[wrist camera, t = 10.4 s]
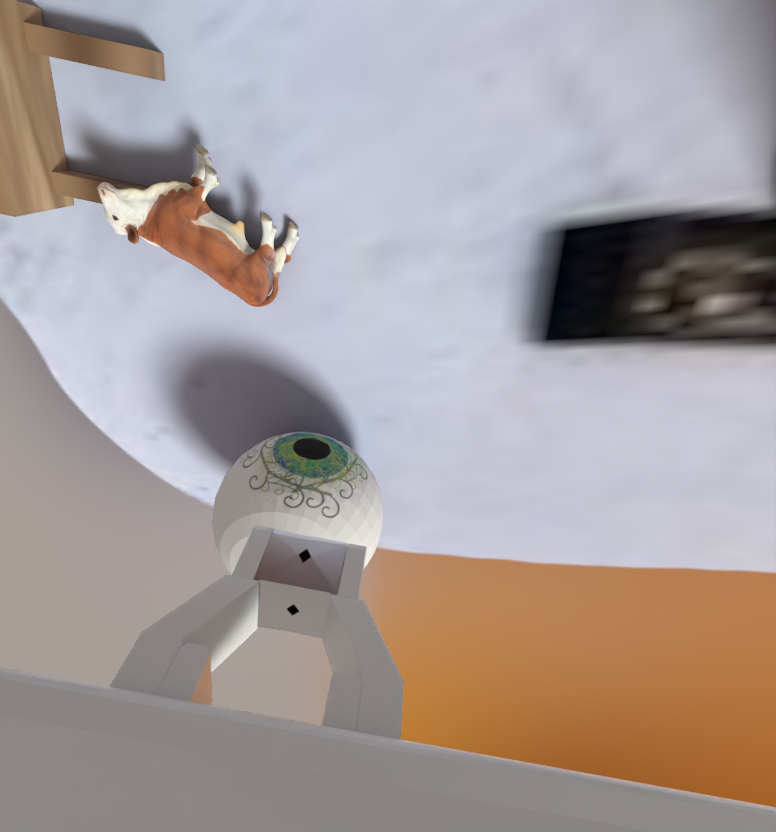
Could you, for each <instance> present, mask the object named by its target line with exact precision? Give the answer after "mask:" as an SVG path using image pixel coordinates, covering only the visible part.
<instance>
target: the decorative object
mask: <svg viewBox="0 0 776 832" xmlns="http://www.w3.org/2000/svg"><path fill="white" fill-rule="evenodd" d="M382 522H383V505H382V499H381V494H380V490H379V487H378V484H377V482H376V479H375V477H374V475H373V473H372V472H371V470H370V469H369V467H368V466H367V464H366V463H365V462H364V460H363V459H362V458H361V457H360V456H359V455H358V454H357V453H356V452H355V451H354V450H353V449H351V448H350V447H348V446H347V445H345V444H344V443H342V442H340V441H338V440H336V439H334V438H332V437H329V436H326V435H322V434H319V433H312V432H290V433H286V434H281V435H277V436H273V437H270V438H268V439H266V440H264V441H261V442H259V443H258V444H256V445H255V446H253V447H252V448H251V449H249V450H248V451H247V452H245V453H244V454H243V455H241V456H240V457H239V459H238V460H237V461H236V462H235V463H234V465H233V466H232V467H231V468H230V470H229V471H228V472H227V473H226V475H225V477H224V479H223V481H222V483H221V486H220V488H219V490H218V493H217V495H216V498H215V504H214V511H213V520H212V524H213V531H214V537H215V543H216V547H217V549H218V552H219V554H220V556H221V558H222V560H223V562H224V564H225V566H226V567H227V569H228V570H229V572H230V573H231V574H232V573H233V571H234V569H235V567H236V565H237V562H238V560H239V558H240V556H241V554H242V551H243V549H244V547H245V545H246V543H247V540H248V538H249V536H250V534H251V532H252V530H253V528H254V527H255V526H256V525H258V526H262V527H267V528H272V529H278V530H282V531H287V532H291V533H296V534H300V535H305V536H310V537H311V536H312V537H318V538H324V539H329V540H335V541H340V542H346V543H347V545H348V543H350V544H355V545H361V546H366V549H367V551H366V557H365V563H364V568H365V567H366V565H367V564H368V562H369V561H370V559H371V557H372V555H373V554H374V552H375V549H376V547H377V544H378V542H379V538H380V534H381V530H382Z"/></svg>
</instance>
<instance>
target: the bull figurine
mask: <svg viewBox="0 0 776 832" xmlns="http://www.w3.org/2000/svg"><path fill="white" fill-rule="evenodd" d="M196 152H197V163H196V170H195V172H194V173H193V174H192V176H191V180H190V184H187V183H181V182H177V181H171V182H167V183H165V182H162V183H157V184H154V185H152V186H150V187H149V188H147V189H145V190H138V189H134V188H128V189H122V190H120V189H116V188H115V187H113V186H112V185H111V184H109V183H107V182H102V183H100V185H99V186H98V187H97V190H98V193H99V195H100V198H101V201H102V204H103V207H104V210H105V214H106V217H107V219H108V221H109V223H110V224H111V225H112V226H113V228H114V231H115V232H116V233H117V234H120V235H127V234H128V240H129V241H130V242H131V243H133V244H136V243H137V242H138V240H139V236H140V237H141V238H142V239H144V240H145V241H146V242H148V243H149V244H152V245H155V246H158V247H162V248H164V249H165V250H167V251H168V252H170V253H171V254H173V255H175V256H177V257H179V258H181V259H183V260H185V261H187V262H189V263H191V264H192V265H194V266H195V267H197V268H198V269H200V270H201V271H203V272H205V273H206V274H207V275H209V276H210V277H212V278H213V279H214V280H215V281H217V282H218V283H219V284H220V285H221V286H222V287H224V288H225V289H227V290H229V291H231V292H232V293H234V294H235V295H237V296H238V297H240V298H241V299H242V300H244V301H245V302H246V303H248V304H249V305H252V306H256V307H261V306H265V305H268V304H270V303H271V302H272V301H273V300H274V299H275V297H276V295H277V292H278V277H279V275H280V272H281V270H282V268H283V265H284V263H287V262H289V261H290V259H291V253H292V250H293V248H294V246H295V244H296V242H297V241H298V240H299V238H300V235H298V234H297V232H298V226H297V225H296V224H294V223H293V222H291V221H290V222H289V223H288V231H287V237H286V239H285V241H284V242H283V243H282V244H281V245H280V246H279V247H277V248H274V236H275V233H276V230H277V227H276V226H273V225H272V219H271V217H270V216H269V215H267V214H266V213H264V212H260V216H261V222H262V228H263V237H262V241H261V244H260V246H259V248H258V249H257V250H254V249H252V248H251V247H249V245H248V243H247V240H246V238H245V234H244V223H243V222H242V221H237V223H235V224H233V223H231V222H230V221H228V220H227V219H225V218H223V217H221V216H219V215H217V214H216V213H214V212H213V211H211V209H210V208H209V206H208V205H207V203H206V201H205V198H206V196H207V194H208V192H209V191H210V190H211V189H213V188H214V187H215V186H218V185H219V184H220V181H219V178H217V177H216V175H217V174H216V171H215V170H214V169H213V168H212V167H210V166H209V165H210V164H211V163H212V161H211V158H209V157H208V153H209V152H208V151H207V150H206V149H205V148H204V147H202V146H200V145H196ZM272 287H273V291H272V293H271V295H269V296H268V294H269V293H270V291H271V289H272ZM267 296H268V297H267Z"/></svg>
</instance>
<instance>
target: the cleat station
mask: <svg viewBox="0 0 776 832" xmlns="http://www.w3.org/2000/svg"><path fill="white" fill-rule="evenodd" d="M49 56H51V57H56V58H60V59H65V60H69V61H74V62H79V63H83V64H88V65H92V66H97V67H102V68H106V69H111V70H115V71H120V72H125V73H129V74H134V75H138V76H143V77H148V78H152V79H157V80H163V81H165V76H164V61H163V54H162V53H159V52H156V51H152V50H149V49H144V48H140V47H135V46H131V45H126V44H122V43H117V42H112V41H108V40H103V39H99V38H94V37H90V36H85V35H80V34H76V33H71V32H67V31H62V30H58V29H53V28H48V27H44V26H43V21H42V15H41V9H40V8H39V7H36V6H33V5H29V4H26V3H23V2H20V1H17V0H0V214H5V215H9V216H14V217H16V216H21V215H26V214H31V213H36V212H42V211H47V210H52V209H57V208H62V207H67V206H72V205H74V203H73V198H77V199H82V200H87V201H92V202H96V203H101V204H102V201H101V198H100V195H99V193H98V190H97V187H98V186H99V185H100V183H102V182H107V183H109V184H111V185H112V186H113V187H115V188H116V189H120V190H122V189H128V188H134V189H138V190H145V189H147V188H149V187H146V186H142V185H137V184H132V183H128V182H123V181H118V180H113V179H109V178H104V177H99V176H94V175H90V174H85V173H80V172H76V171H71V170H68V167H67V161H66V156H65V150H64V144H63V138H62V132H61V126H60V120H59V115H58V109H57V103H56V97H55V91H54V85H53V79H52V73H51V68H50V62H49Z"/></svg>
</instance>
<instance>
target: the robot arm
mask: <svg viewBox="0 0 776 832" xmlns="http://www.w3.org/2000/svg"><path fill="white" fill-rule="evenodd" d="M366 551H367V549H366V546H361V545H355V544H350V543H348V545H347V543H346V542H340V541H335V540H329V539H324V538H318V537H312V536H311V537H310V536H305V535H300V534H296V533H291V532H287V531H282V530H278V529H272V528H267V527H262V526H258V525H256V526H255V527H254V528H253V530H252V532H251V534H250V536H249V538H248V540H247V543H246V545H245V547H244V549H243V551H242V554H241V556H240V558H239V560H238V562H237V565H236V567H235V569H234V571H233V573H232V575H227V574H226V575H224V576H223V577H221V578H220V579H218V580H217V581H216V582H214V583H213V584H211V585H210V586H208V587H207V588H205V589H204V590H202V591H201V592H199V593H198V594H196V595H195V596H194V597H192V598H191V599H189V600H188V601H186V602H185V603H184V604H182V605H181V606H179V607H177V608H176V609H175V610H173V611H172V612H170V613H169V614H167V615H166V616H164V617H163V618H162V619H160V620H159V621H157V622H156V623H154V624H153V625H151V626H150V627H148V628H147V629H145V630H144V631H142V633H141V634H140V636H139V638H138V639H137V641H136V643H135V644H134V646H133V648H132V650H131V651H130V653H129V655H128V656H127V658H126V660H125V661H124V663H123V665H122V666H121V668H120V670H119V671H118V673H117V675H116V677H115V678H114V680H113V682H112V683H111V685H110V687H107V686H102V685H96V684H91V683H85V682H79V681H74V680H69V679H63V678H58V677H52V676H46V675H41V674H35V673H30V672H25V671H18V670H13V669H8V668H2V667H0V832H776V807H770V806H765V805H760V804H754V803H748V802H743V801H737V800H732V799H726V798H721V797H715V796H710V795H704V794H699V793H693V792H688V791H682V790H676V789H671V788H665V787H660V786H654V785H649V784H643V783H638V782H632V781H627V780H621V779H615V778H610V777H605V776H599V775H594V774H587V773H582V772H577V771H571V770H565V769H560V768H555V767H549V766H544V765H538V764H533V763H527V762H522V761H516V760H510V759H505V758H499V757H494V756H488V755H483V754H477V753H472V752H466V751H461V750H455V749H450V748H444V747H439V746H433V745H427V744H422V743H417V742H411V741H405V740H401V721H402V701H403V683H404V681H403V679H402V677H401V675H400V673H399V670H398V669H397V667H396V664H395V662H394V660H393V658H392V656H391V654H390V652H389V650H388V648H387V646H386V644H385V642H384V640H383V638H382V636H381V634H380V632H379V630H378V627H377V626H376V623H375V622H374V619H373V617H372V615H371V613H370V611H369V609H368V607H367V605H366V603H365V601H364V600H360V599H359V595H360V589H361V582H362V576H363V569H364V563H365V557H366ZM257 626H258V627H264V628H271V629H277V630H284V631H290V632H295V633H299V634H304V635H309V636H313V637H318V638H322V639H323V643H324V647H325V650H326V653H327V656H328V659H329V662H330V665H331V668H332V671H333V675H332V678H331V683H330V688H329V692H328V697H327V701H326V706H325V711H324V715H323V719H322V724H321V725H318V724H312V723H306V722H301V721H295V720H290V719H284V718H279V717H273V716H268V715H262V714H257V713H251V712H246V711H240V710H234V709H229V708H224V707H218V706H213V704H212V681H211V672H212V671H213V670H215V669H216V668H217V666H219V665H220V664H221V663H222V662H223V661H224V660H225V659H226V658H227V657H228V656H229V655H230V654H231V653H232V652H233V651H234V650H235V649H236V648H237V647H239V646H240V644H242V643H243V642H244V641H245V640H246V639H247V638H248V637H249V636H250V635H251V634H252V633H253V632H254V631H255V630H256V629H257Z"/></svg>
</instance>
